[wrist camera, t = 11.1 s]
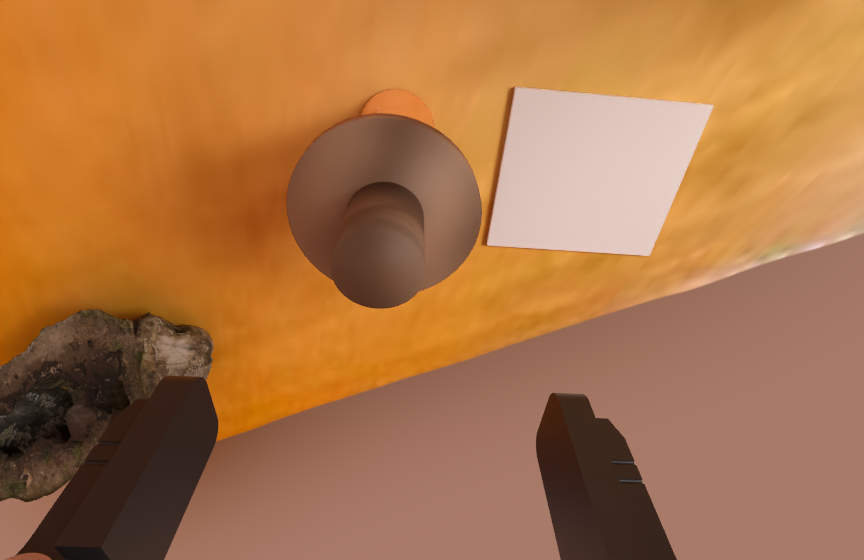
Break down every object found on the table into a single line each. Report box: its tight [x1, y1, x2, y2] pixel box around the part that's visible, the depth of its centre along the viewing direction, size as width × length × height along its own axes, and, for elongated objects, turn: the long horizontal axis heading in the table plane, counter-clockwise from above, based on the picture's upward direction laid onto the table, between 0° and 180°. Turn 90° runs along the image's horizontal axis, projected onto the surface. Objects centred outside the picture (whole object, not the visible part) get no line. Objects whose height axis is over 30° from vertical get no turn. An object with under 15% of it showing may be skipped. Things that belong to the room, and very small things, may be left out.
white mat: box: [486, 86, 713, 256], centre depth 39 cm, size 16×14×1 cm
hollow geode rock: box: [0, 310, 213, 502], centre depth 46 cm, size 28×13×15 cm
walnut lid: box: [287, 113, 482, 308], centre depth 21 cm, size 10×10×6 cm
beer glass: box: [361, 90, 434, 128], centre depth 30 cm, size 7×7×15 cm
